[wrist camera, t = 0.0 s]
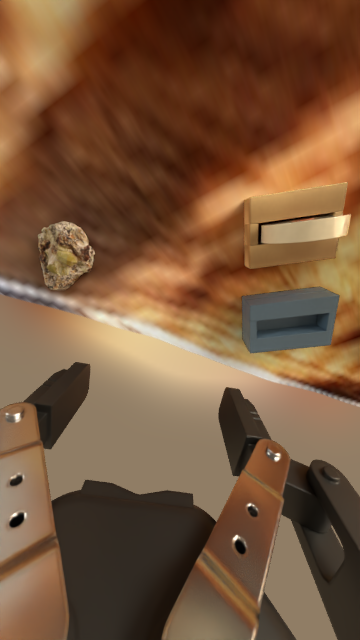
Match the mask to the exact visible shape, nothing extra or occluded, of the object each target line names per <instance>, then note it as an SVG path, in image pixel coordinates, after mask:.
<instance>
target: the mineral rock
mask: <svg viewBox="0 0 360 640" xmlns="http://www.w3.org/2000/svg"><path fill="white" fill-rule="evenodd" d="M38 238H39V245H38V249H39V251H40V256H39V260H40V263H41V265H42V267H41V270H42V271H43V275H44V278H45V284H46V285H47V286H48V288H49V289H51V290H65V289H68V288H69V287H70V286H72V285H73V284H74V282H76V281H77V280H78V279H79V277H80V275H83V272H84V273H85V272H87V273H89V272H91V269H92V265H93V262H94V257H93V255H94V254H95V252H94V249H93V247H91V246H90V245H89V244H88V243H89V241H88V237H87V236H86V234H85V232H84V231H83V229H81V227H78V226H76V225H75V224H74V223H71V222H70V223H68V222H66V221H62V222H59V223H56V224H52V225H49V228H45V227H44V228H43V229H42V233H41V234H39V235H38Z"/></svg>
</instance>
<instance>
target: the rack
mask: <svg viewBox="0 0 360 640" xmlns="http://www.w3.org/2000/svg"><path fill="white" fill-rule="evenodd" d="M347 185H348V182H345V183H339V184H332V185H326V186H319V187H313V188H307V189H300V190H294V191H287V192H281V193H274V194H268V195H261V196H255V197H250V198H248V199H246V200H244V244H245V245H244V265H245V266H246V267H248V268H249V269H255V268H262V267H270V266H278V265H285V264H293V263H301V262H308V261H316V260H324V259H331V258H336V252H337V246H338V240H339V237H338V238H332V239H326V240H319V241H310V242H299V243H284V244H266V243H261V242H259V243H258V223H264V222H270V221H277V220H284V219H291V218H298V217H305V216H312V215H319V214H320V217H321V216H330V215H340V214H343V209H344V203H345V197H346V191H347Z"/></svg>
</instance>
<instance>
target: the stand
mask: <svg viewBox="0 0 360 640" xmlns="http://www.w3.org/2000/svg"><path fill="white" fill-rule="evenodd" d="M338 301H339V295H337V294H335V293H333V292H330V291H328V290H327V289H324V288H322V287H312V288H304V289H296V290H288V291H279V292H271V293H263V294H255V295H246V296H242V337H243V341H244V343H245V345H246V347H247V349H248V351H249V352H250V353H258V352H267V351H277V350H287V349H297V348H307V347H317V346H327V345H331V340H332V334H333V328H334V323H335V318H336V312H337V307H338Z"/></svg>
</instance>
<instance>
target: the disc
mask: <svg viewBox="0 0 360 640" xmlns="http://www.w3.org/2000/svg"><path fill="white" fill-rule="evenodd" d="M350 219H351V214H340V215H330V216H321V217H313V218H305V219H298V220H290V221H283V222H277V223H271V224H265V225H262V226H261V243H266V244H284V243H299V242H310V241H319V240H326V239H332V238H338V237H342V236H345V235H347V234H348V230H349V224H350Z"/></svg>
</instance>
